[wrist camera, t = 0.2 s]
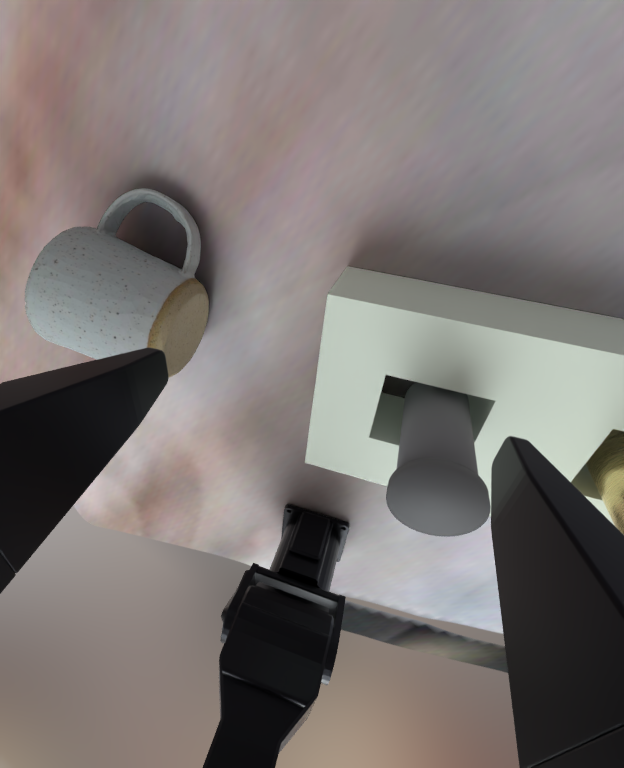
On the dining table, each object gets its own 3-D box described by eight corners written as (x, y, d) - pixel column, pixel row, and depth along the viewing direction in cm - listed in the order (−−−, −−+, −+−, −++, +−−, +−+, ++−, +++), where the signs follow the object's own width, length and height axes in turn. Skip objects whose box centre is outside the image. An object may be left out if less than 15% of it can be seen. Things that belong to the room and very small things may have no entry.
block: (661, 507, 25) (706, 579, 21) (322, 417, 28) (304, 462, 24) (824, 357, 18) (939, 420, 14) (347, 266, 22) (327, 294, 18)
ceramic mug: (209, 354, 28) (146, 412, 22) (115, 313, 29) (28, 359, 22) (232, 216, 22) (154, 241, 16) (113, 166, 22) (-9, 171, 16)
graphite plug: (459, 437, 22) (469, 547, 16) (392, 419, 23) (377, 519, 17) (485, 382, 20) (508, 487, 14) (409, 364, 21) (399, 457, 15)
